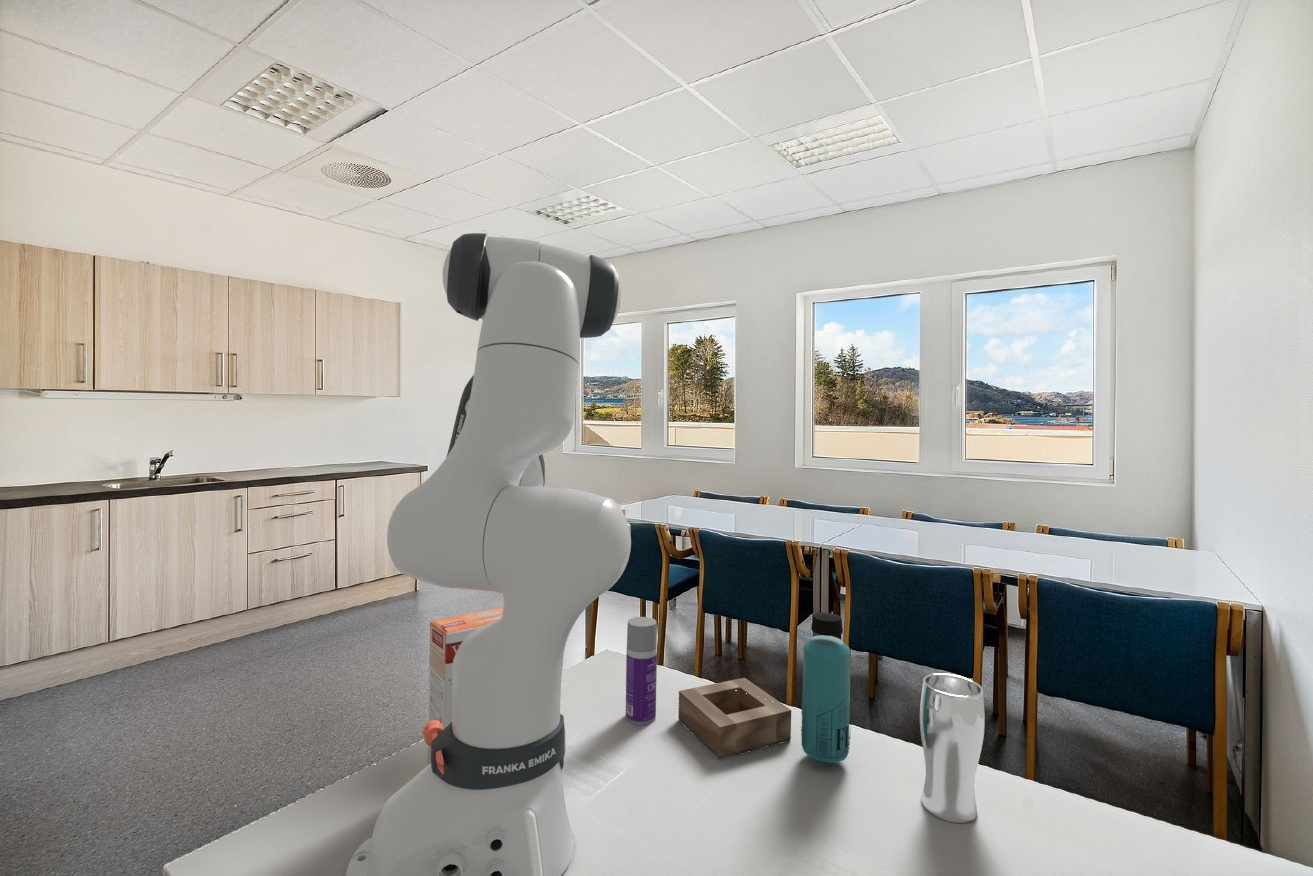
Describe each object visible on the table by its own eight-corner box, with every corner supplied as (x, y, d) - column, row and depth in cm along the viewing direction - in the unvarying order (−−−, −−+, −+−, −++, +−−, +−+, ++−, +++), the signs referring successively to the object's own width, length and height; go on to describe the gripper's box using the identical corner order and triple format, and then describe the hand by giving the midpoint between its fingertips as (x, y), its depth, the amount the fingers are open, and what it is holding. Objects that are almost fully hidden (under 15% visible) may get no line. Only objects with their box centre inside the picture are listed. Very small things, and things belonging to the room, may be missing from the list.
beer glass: (920, 819, 71) (924, 692, 71) (914, 785, 78) (917, 669, 78) (987, 831, 69) (991, 701, 69) (974, 795, 76) (978, 676, 76)
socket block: (719, 759, 83) (720, 727, 83) (678, 719, 94) (678, 691, 94) (790, 741, 88) (791, 710, 88) (744, 705, 99) (744, 677, 99)
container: (652, 726, 92) (654, 627, 91) (622, 723, 93) (623, 625, 92) (658, 712, 96) (660, 617, 96) (629, 708, 97) (631, 615, 97)
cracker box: (444, 808, 72) (444, 633, 71) (426, 784, 77) (426, 619, 76) (549, 767, 81) (551, 610, 80) (527, 747, 86) (529, 599, 85)
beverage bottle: (839, 780, 79) (843, 627, 78) (791, 762, 83) (794, 616, 82) (856, 758, 84) (860, 614, 83) (810, 742, 88) (814, 604, 87)
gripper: (499, 514, 97) (559, 535, 89) (591, 489, 113) (649, 505, 104) (500, 552, 98) (559, 576, 90) (590, 521, 114) (647, 540, 106)
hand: (608, 537), depth 97 cm, fingers open, 8 cm apart
